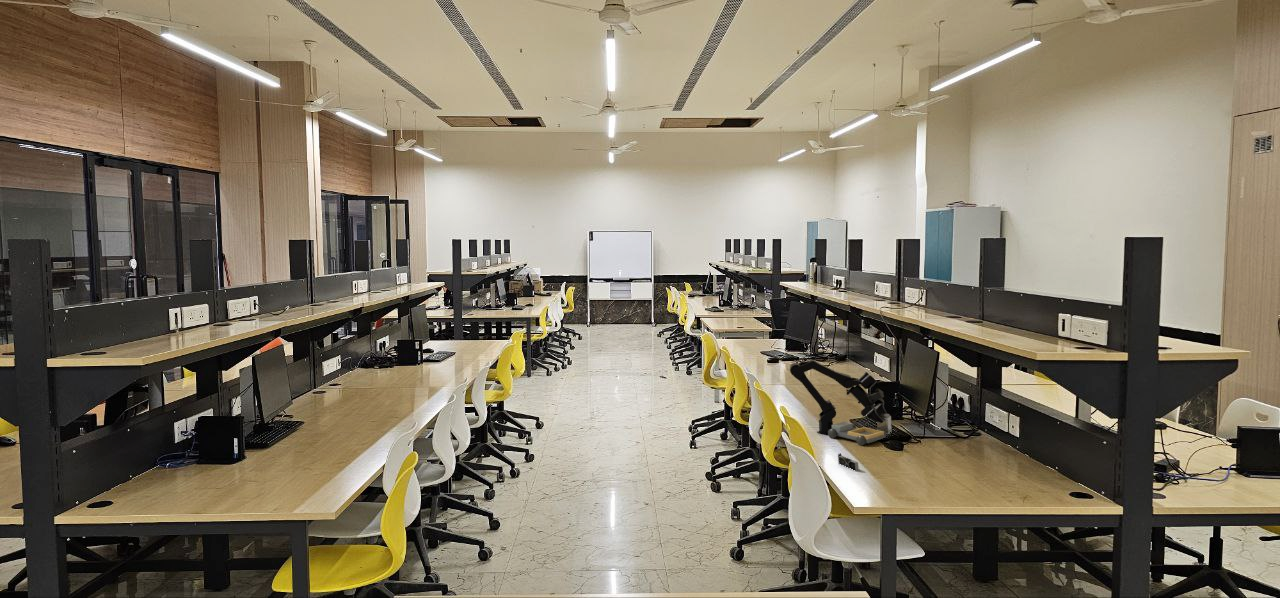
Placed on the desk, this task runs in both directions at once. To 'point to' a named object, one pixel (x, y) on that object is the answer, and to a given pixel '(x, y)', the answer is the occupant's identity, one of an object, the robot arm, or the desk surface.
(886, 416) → the grey block
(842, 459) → the graphics card
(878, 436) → the truck
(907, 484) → the desk surface
